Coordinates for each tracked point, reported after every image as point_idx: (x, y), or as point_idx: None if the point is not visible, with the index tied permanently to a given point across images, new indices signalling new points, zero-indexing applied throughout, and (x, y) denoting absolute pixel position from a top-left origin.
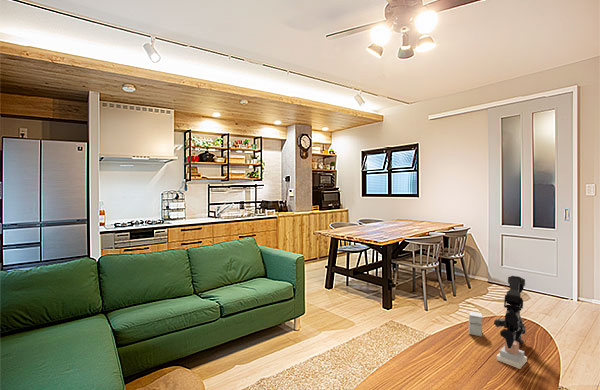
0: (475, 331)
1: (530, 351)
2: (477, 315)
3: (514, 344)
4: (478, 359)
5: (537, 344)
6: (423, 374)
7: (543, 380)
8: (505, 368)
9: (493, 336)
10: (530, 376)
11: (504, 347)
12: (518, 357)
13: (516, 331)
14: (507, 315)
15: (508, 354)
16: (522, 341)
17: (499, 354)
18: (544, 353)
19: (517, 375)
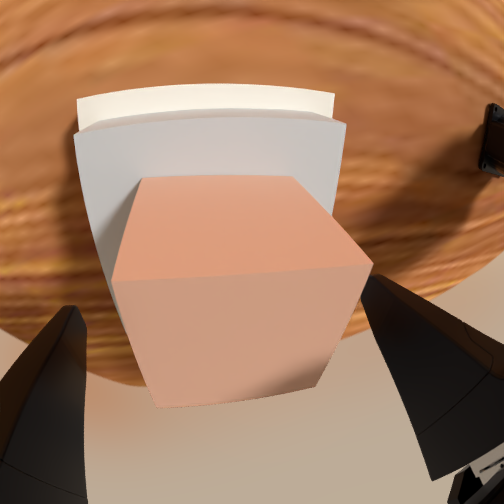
0: None
1: (434, 228)
2: None
3: (162, 399)
4: None
5: (492, 227)
6: None
7: (127, 369)
8: (29, 216)
9: (489, 25)
10: (98, 334)
11: (242, 136)
12: (124, 327)
13: (472, 438)
14: None
15: (100, 238)
16: (500, 175)
17: (129, 104)
18: (435, 275)
19: (34, 294)
